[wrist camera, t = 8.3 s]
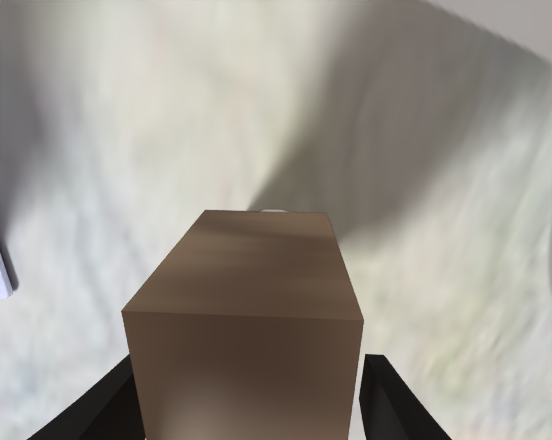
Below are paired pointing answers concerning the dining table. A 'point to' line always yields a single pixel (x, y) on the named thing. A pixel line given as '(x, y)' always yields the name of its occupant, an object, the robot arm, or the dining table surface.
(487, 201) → the dining table surface
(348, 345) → the walnut block
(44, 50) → the dining table surface
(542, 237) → the dining table surface
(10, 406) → the dining table surface
